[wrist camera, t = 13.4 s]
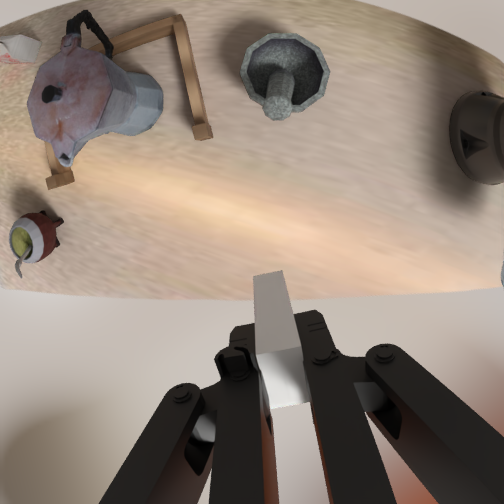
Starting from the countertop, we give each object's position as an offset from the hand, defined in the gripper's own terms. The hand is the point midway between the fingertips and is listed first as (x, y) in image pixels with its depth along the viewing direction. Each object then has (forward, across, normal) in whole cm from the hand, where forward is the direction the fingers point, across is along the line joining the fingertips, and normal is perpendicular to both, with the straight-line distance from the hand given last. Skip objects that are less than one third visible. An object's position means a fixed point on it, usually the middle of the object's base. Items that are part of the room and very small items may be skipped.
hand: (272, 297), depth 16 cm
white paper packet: (+27, -31, +35) cm, 54 cm away
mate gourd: (+27, -32, +4) cm, 42 cm away
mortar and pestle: (+27, +6, +15) cm, 31 cm away
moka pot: (+27, -13, +18) cm, 35 cm away
